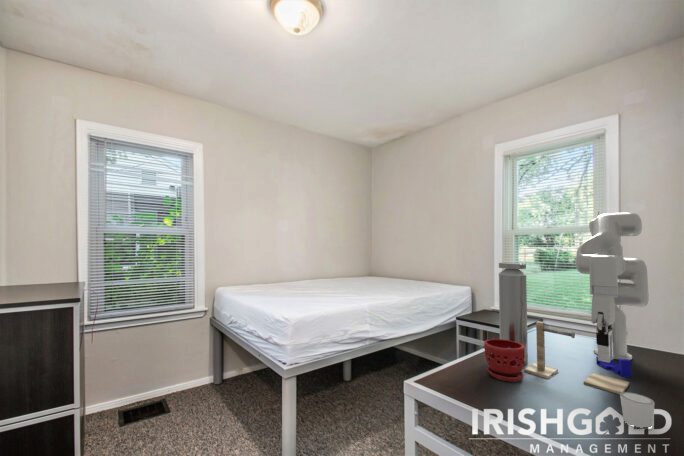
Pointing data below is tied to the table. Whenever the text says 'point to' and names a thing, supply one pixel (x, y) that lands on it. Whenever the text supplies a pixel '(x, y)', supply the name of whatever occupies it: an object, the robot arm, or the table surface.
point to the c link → (606, 349)
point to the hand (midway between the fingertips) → (605, 343)
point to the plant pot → (505, 359)
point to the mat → (606, 383)
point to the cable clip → (617, 366)
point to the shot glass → (637, 409)
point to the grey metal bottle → (513, 304)
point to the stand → (543, 353)
